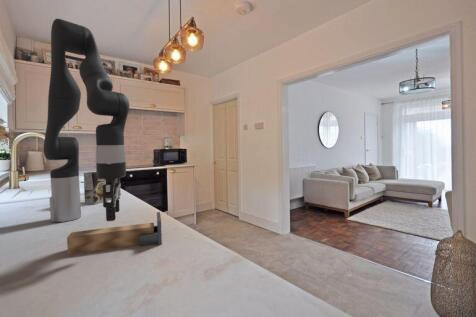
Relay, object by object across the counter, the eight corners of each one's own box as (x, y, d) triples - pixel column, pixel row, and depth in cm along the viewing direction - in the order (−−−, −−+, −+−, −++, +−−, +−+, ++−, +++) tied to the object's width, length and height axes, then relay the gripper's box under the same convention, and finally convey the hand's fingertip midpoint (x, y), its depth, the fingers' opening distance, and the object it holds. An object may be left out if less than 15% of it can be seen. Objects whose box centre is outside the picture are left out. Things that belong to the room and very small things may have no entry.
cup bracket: (139, 247, 66) (138, 223, 66) (141, 235, 75) (140, 214, 75) (161, 244, 68) (161, 221, 68) (160, 232, 77) (159, 212, 77)
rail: (68, 255, 63) (66, 237, 63) (73, 249, 67) (72, 232, 66) (154, 242, 70) (153, 226, 70) (154, 237, 74) (153, 222, 74)
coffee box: (95, 204, 117) (93, 172, 116) (84, 204, 118) (82, 172, 118) (108, 200, 126) (107, 170, 125) (98, 200, 127) (97, 170, 127)
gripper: (101, 159, 72) (103, 211, 73) (90, 163, 59) (92, 225, 60) (127, 159, 75) (129, 208, 76) (122, 162, 62) (124, 222, 63)
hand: (113, 216), depth 68 cm, fingers open, 8 cm apart
